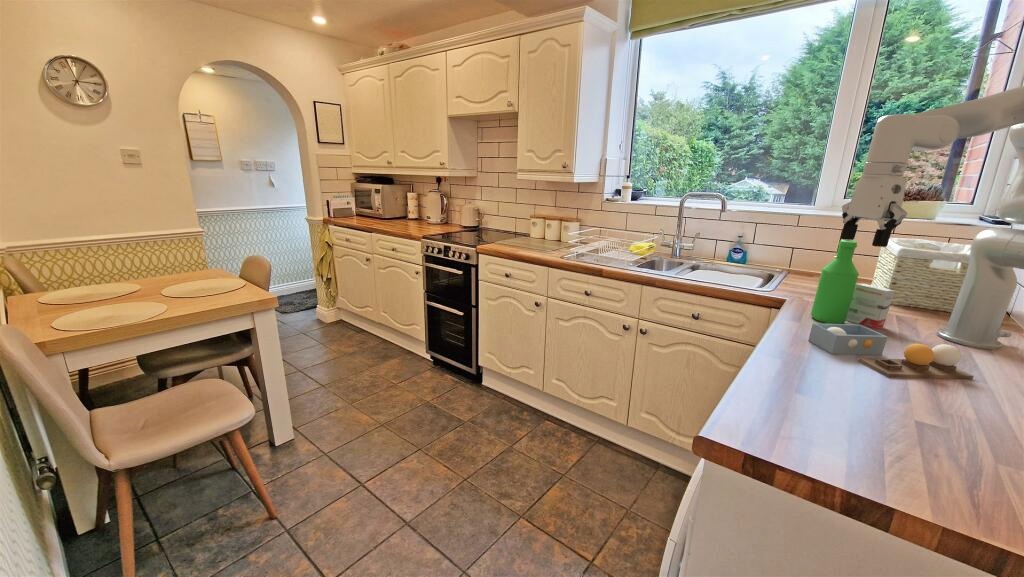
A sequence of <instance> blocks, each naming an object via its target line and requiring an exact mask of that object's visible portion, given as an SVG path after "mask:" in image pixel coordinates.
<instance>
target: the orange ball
mask: <svg viewBox="0 0 1024 577" xmlns="http://www.w3.org/2000/svg"><path fill="white" fill-rule="evenodd" d="M932 349H933V348H931V347H929V346H928V345H926V344H923V343H913V344H909V345H908V346H907V347H906V348H905V349H904V350H903V351H904V352H903V356H904V358H905V359H906V360H907V361H909V362H910V363H912V364H914V365H927V364H929V363H930V362H932V360H933V359H934V353H933V351H932Z"/></svg>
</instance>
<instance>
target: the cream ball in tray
mask: <svg viewBox="0 0 1024 577" xmlns="http://www.w3.org/2000/svg"><path fill="white" fill-rule="evenodd" d="M827 330H829V331H831V332H833V333H835V334H837V335H847V334H846V332H845V331H844V330H843V329H841V328H838V327H830V328H828V329H827Z"/></svg>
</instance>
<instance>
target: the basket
mask: <svg viewBox="0 0 1024 577" xmlns="http://www.w3.org/2000/svg"><path fill="white" fill-rule="evenodd" d="M970 248H971V244H967V243H966V244H965V243H964V244H960V243H953V242H951V243H950V242H942V241H937V240H929V239H923V238H922V239H921V238H907V237H906V238H904V237H903V238H902V237H901V238H900V237H890V238H889V242H888V245H887V246H886V247H880V250H879V254H878V258H877V263H876V265H875V271H874V276H873V277H872V281H871V284H870V285H872V286H876V287H881V288H885V289H890V290H894V294H893V298H892V301H891V304H890V305H891V306H892V305H893V306H902V307H910V308H920V309H927V310H928V311H936V310H937V311H939V312H940V311H941V312H946V313H949V312H950V313H951V314H952V311H953V309H954V306H955V303H956V300H957V298H958V295H959V292H960V289H961V287H962V284H963V281H964V279H965V276H966V273H967V269H968V266H969V260H970ZM950 313H949V314H950Z"/></svg>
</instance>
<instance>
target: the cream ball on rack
mask: <svg viewBox="0 0 1024 577" xmlns="http://www.w3.org/2000/svg"><path fill="white" fill-rule="evenodd" d="M931 349H932V351H933V353H934V359H933V361H934V362H935V363H937V364H940V365H942V366H952V365H954V366H956V365H957V364H958V363H960V361H961V360H962V353H961V351H960V350H959V349H958V348H957V347H955V346H953V345H951V344H945V343H944V344H937V345H935V346H934V347H933V348H931Z"/></svg>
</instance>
